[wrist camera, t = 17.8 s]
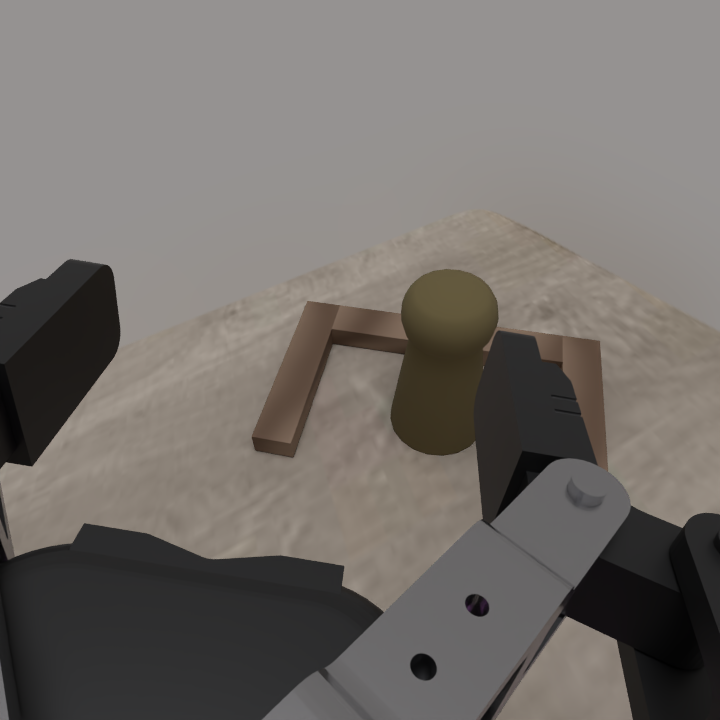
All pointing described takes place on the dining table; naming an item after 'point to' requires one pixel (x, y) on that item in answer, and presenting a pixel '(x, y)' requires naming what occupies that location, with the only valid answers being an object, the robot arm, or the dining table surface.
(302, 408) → the walnut cradle
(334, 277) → the dining table surface
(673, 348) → the dining table surface
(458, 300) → the cork
